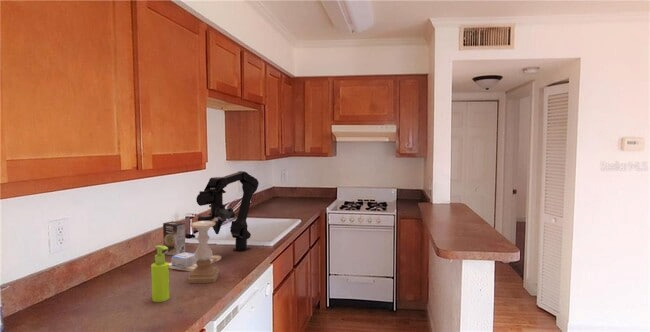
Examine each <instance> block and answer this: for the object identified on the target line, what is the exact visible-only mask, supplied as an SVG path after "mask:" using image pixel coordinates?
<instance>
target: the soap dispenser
mask: <svg viewBox="0 0 650 332" xmlns="http://www.w3.org/2000/svg"><path fill="white" fill-rule="evenodd" d="M154 248H155V249H156V252H157V253H156V254H155V255H154V263H152V264H151V265H150V267H151V268H150V269H151V270H150V271H151V273H150V274H151V301H152V302H153V303H163V302H166V301H168V300H169V299H170V271H169V269H170V268H169V263H170V262H167V261H166V256H165V255H166V254H164V252H163V251H164V250H166V249H168V247H166V246H164V244H163V245H161V244H159V245H154Z"/></svg>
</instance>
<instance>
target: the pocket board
mask: <svg viewBox="0 0 650 332" xmlns="http://www.w3.org/2000/svg"><path fill="white" fill-rule="evenodd" d="M209 259H210V260H211V264H213V263H216V262H218V261H220V260H222V255H218V254H217V255H215V254H212V257H211V258H209ZM168 263H169V269H171V270H173V269H174V270H179V271H186V272H191V273H192V271H193V270H194V269H195V268H196V267H198V266H197V265H196V264H194V265H191V266H189V267H187V268H182V267H176V266H172V262H171V261H170V262H168ZM211 264H210V265H211Z"/></svg>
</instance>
